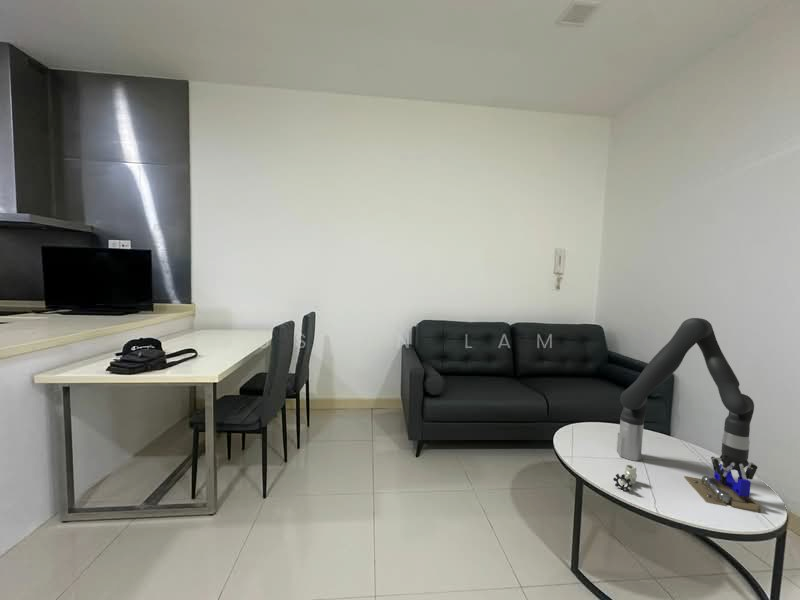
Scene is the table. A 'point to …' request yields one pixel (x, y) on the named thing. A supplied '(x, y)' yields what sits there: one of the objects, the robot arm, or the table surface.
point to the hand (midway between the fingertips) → (731, 485)
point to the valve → (627, 478)
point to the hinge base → (721, 494)
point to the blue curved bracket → (736, 484)
